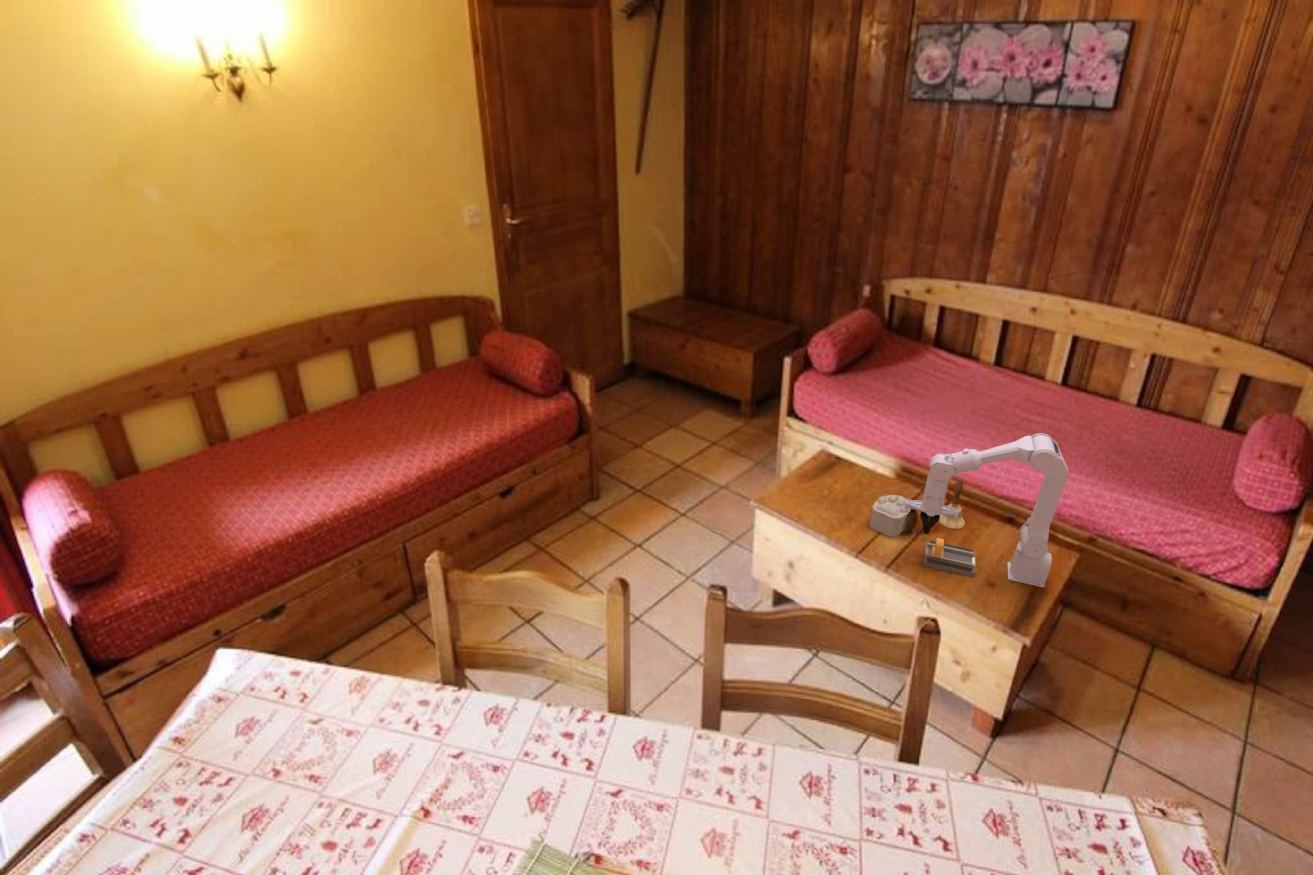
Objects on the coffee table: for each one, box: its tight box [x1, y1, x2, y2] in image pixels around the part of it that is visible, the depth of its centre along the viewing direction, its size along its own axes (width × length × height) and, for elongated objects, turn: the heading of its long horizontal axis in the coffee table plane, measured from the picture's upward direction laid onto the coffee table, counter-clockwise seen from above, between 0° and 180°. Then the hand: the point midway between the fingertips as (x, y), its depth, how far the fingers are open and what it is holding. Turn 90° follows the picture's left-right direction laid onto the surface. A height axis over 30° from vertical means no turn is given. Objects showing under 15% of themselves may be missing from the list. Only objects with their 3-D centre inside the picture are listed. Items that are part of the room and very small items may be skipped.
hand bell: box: [937, 478, 966, 530], centre depth 226 cm, size 8×8×16 cm
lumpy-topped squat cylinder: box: [869, 494, 912, 538], centre depth 227 cm, size 10×13×9 cm
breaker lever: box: [932, 537, 945, 557], centre depth 212 cm, size 3×4×4 cm
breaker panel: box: [922, 539, 976, 578], centre depth 212 cm, size 14×10×3 cm
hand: (925, 532), depth 211 cm, fingers closed
